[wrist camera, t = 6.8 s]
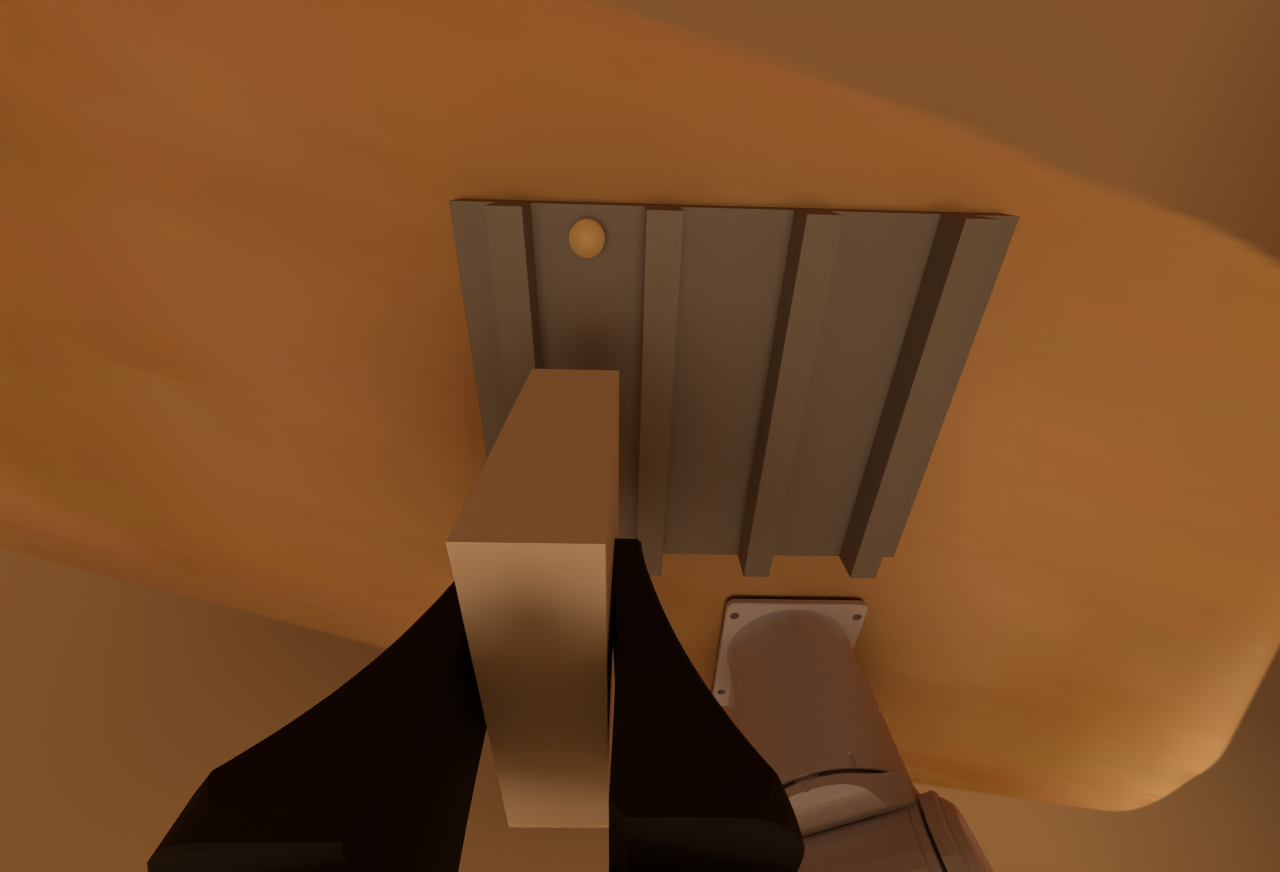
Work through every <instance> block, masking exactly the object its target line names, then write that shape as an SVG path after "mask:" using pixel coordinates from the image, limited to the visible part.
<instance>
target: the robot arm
mask: <svg viewBox="0 0 1280 872" xmlns="http://www.w3.org/2000/svg"><path fill="white" fill-rule="evenodd" d="M867 611H868V608H867V606H866V604H865V602H863V601H860V600H795V599H731V600H729V601H728V602H727V603H726V607H725V613H724V620H723V626H722V632H721V639H720V645H719V651H718V658H717V664H716V670H715V677H714V683H713V689H712V693H711V691H710V690H709V689H708V687H707V686H706V684H705V683H704V681H703V680H702V678H701V677H700V675H699V674H698V672H697V671H696V669H695V667H694V666H693V664H692V663H691V661H690V659H689V658H688V656H687V654H686V653H685V651H684V649H683V648H682V646H681V644H680V642H679V640H678V638H677V637H676V635H675V633H674V631H673V629H672V627H671V625H670V623H669V621H668V619H667V617H666V615H665V613H664V610H663V608H662V606H661V604H660V601H659V599H658V597H657V594H656V592H655V589H654V587H653V584H652V582H651V579H650V576H649V573H648V570H647V567H646V563H645V560H644V556H643V551H642V545H641V542H640V541H639V540H638V539H623V538H615V543H614V556H613V656H614V676H615V694H614V713H613V732H612V750H611V768H610V785H609V872H994V871H993V870H992V868H991V866H990V864H989V862H988V860H987V858H986V857H985V855H984V853H983V851H982V849H981V847H980V846H979V844H978V842H977V840H976V838H975V837H974V835H973V833H972V831H971V830H970V828H969V826H968V825H967V823H966V821H965V819H964V818H963V816H962V815H961V813H960V811H959V810H958V809H957V807H956V806H955V805H954V804H953V803H951V802H949V801H947V800H946V799H944V798H940V796H939V795H938V794H937V793H936V792H934V791H928V792H926V793H923V794H920V793H919V792H918V791H917V789H916V788H915V787H914V785H913V783H912V781H911V778H910V776H909V774H908V772H907V769H906V767H905V765H904V763H903V760H902V758H901V756H900V754H899V751H898V749H897V747H896V745H895V742H894V740H893V738H892V736H891V733H890V731H889V729H888V727H887V724H886V722H885V720H884V718H883V715H882V713H881V711H880V709H879V706H878V704H877V702H876V700H875V698H874V695H873V693H872V691H871V689H870V686H869V684H868V682H867V680H866V677H865V675H864V673H863V671H862V668H861V666H860V664H859V662H858V659H857V657H856V655H855V653H854V647H855V644H856V641H857V638H858V636H859V633H860V630H861V627H862V625H863V622H864V619H865V616H866V614H867ZM732 613H734V614H732ZM721 706H728V710H729V716H730V718H729V716H728V715H727V714H726V712H725V711H724V709H723V708H722V707H721ZM486 729H487V725H486V721H485V716H484V712H483V707H482V703H481V698H480V694H479V689H478V685H477V680H476V676H475V671H474V667H473V662H472V658H471V653H470V649H469V644H468V640H467V635H466V631H465V626H464V622H463V617H462V613H461V608H460V604H459V599H458V595H457V590H456V586H455V581H454V582H453V583H452V584H451V585H450V586H449V587H448V589H447V590H446V591H445V592H444V593H443V594H442V595H441V596H440V598H439V599H438V600H437V601H436V602H435V603H434V604H433V605H432V606H431V607H430V608H429V609H428V610H427V611H426V612H425V613H424V614H423V615H422V616H421V617H420V618H419V619H418V620H417V621H416V622H415V623H414V624H413V625H412V626H411V627H410V628H409V629H408V630H407V631H406V632H405V633H404V634H403V635H402V636H401V637H400V638H399V639H397V640H396V641H395V642H394V643H393V644H392V645H391V646H390V647H389V648H387V649H386V650H385V651H384V652H383V653H382V654H381V655H380V656H378V657H377V658H376V659H375V660H374V661H373V662H371V663H370V664H369V665H368V666H366V667H365V668H364V669H363V670H361V671H360V672H359V673H358V674H357V675H355V676H354V677H353V678H351V679H350V680H349V681H348V682H346V683H345V684H344V685H342V686H341V687H340V688H339V689H337V690H336V691H335V692H333V693H332V694H331V695H330V696H328V697H327V698H325V699H324V700H323V701H321V702H319V703H318V704H317V705H315V706H314V707H313V708H311V709H309V710H308V711H307V712H305V713H304V714H303V715H301V716H299V717H298V718H296V719H295V720H294V721H292V722H291V723H289V724H288V725H286V726H285V727H283V728H281V729H280V730H278V731H277V732H275V733H274V734H272V735H271V736H269V737H268V738H266V739H264V740H262V741H261V742H259V743H258V744H256V745H254V746H253V747H251V748H249V749H248V750H246V751H245V752H243V753H241V754H240V755H238V756H236V757H235V758H233V759H232V760H230V761H228V762H226V763H225V764H223V765H222V766H220V767H218V768H216V769H214V770H213V771H212V772H211V773H210V774H209V776H208V777H207V778H206V779H205V781H204V782H203V783H202V785H201V786H200V787H199V788H198V790H197V791H196V792H195V794H194V795H193V796H192V798H191V799H190V801H189V802H188V804H187V805H186V807H185V808H184V810H183V811H182V813H181V814H180V816H179V817H178V818H177V820H176V821H175V823H174V824H173V826H172V827H171V829H170V830H169V831H168V833H167V834H166V836H165V837H164V839H163V840H162V842H161V843H160V845H159V846H158V847H157V849H156V850H155V852H154V853H153V855H152V856H151V858H150V859H149V861H148V862H147V865H148V872H458V869H459V864H460V858H461V853H462V847H463V842H464V836H465V831H466V825H467V820H468V815H469V810H470V805H471V800H472V795H473V790H474V784H475V779H476V775H477V770H478V766H479V761H480V756H481V751H482V746H483V742H484V737H485V733H486Z"/></svg>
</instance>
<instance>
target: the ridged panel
mask: <svg viewBox="0 0 1280 872" xmlns="http://www.w3.org/2000/svg"><path fill="white" fill-rule="evenodd" d="M449 204H450V210H451V217H452V224H453V230H454V237H455V244H456V250H457V257H458V264H459V270H460V277H461V284H462V291H463V297H464V304H465V311H466V317H467V324H468V331H469V337H470V344H471V351H472V357H473V364H474V371H475V377H476V384H477V391H478V397H479V404H480V411H481V417H482V424H483V431H484V437H485V444H486V451H487V457H488V456H489V454H490V452H491V450H492V448H493V446H494V444H495V442H496V440H497V438H498V436H499V434H500V432H501V430H502V428H503V426H504V424H505V422H506V420H507V418H508V416H509V414H510V412H511V410H512V408H513V406H514V404H515V402H516V400H517V398H518V396H519V394H520V392H521V390H522V388H523V386H524V384H525V382H526V380H527V378H528V376H529V374H530V372H531V370H532V369H571V370H618V371H619V512H618V538H623V539H638V540H639V541H640V542H641V545H642V551H643V556H644V560H645V563H646V567H647V570H648V573H649V575H661V566H662V553H663V554H734V555H738V557H739V560H740V564H741V568H742V572H743V576H758V577H768V576H769V571H770V566H771V562H772V557H773V555H805V556H839V557H840V559H841V561H842V562H843V564H844V566H845V568H846V570H847V572H848V574H849V576H850V578H875V576H876V573H877V571H878V568H879V565H880V562H881V559H882V557H893V556H894V554H895V551H896V548H897V545H898V543H899V540H900V537H901V535H902V532H903V529H904V527H905V524H906V521H907V518H908V516H909V513H910V510H911V508H912V505H913V502H914V500H915V497H916V494H917V492H918V489H919V486H920V483H921V481H922V478H923V475H924V473H925V470H926V467H927V465H928V462H929V459H930V456H931V454H932V451H933V448H934V446H935V443H936V440H937V438H938V435H939V432H940V430H941V427H942V424H943V421H944V419H945V416H946V413H947V411H948V408H949V405H950V403H951V400H952V397H953V394H954V392H955V389H956V386H957V384H958V381H959V378H960V376H961V373H962V370H963V368H964V365H965V362H966V359H967V357H968V354H969V351H970V349H971V346H972V343H973V341H974V338H975V335H976V332H977V330H978V327H979V324H980V322H981V319H982V316H983V314H984V311H985V308H986V306H987V303H988V300H989V297H990V295H991V292H992V289H993V287H994V284H995V281H996V279H997V276H998V273H999V270H1000V268H1001V265H1002V262H1003V260H1004V257H1005V254H1006V252H1007V249H1008V246H1009V244H1010V241H1011V238H1012V235H1013V233H1014V230H1015V227H1016V225H1017V222H1018V219H1019V217H1020V216H1014V215H1007V214H994V213H958V212H921V211H885V210H848V209H811V208H775V207H738V206H702V205H665V204H628V203H592V202H555V201H519V200H482V199H455V200H450V201H449Z"/></svg>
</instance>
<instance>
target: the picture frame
mask: <svg viewBox="0 0 1280 872" xmlns="http://www.w3.org/2000/svg"><path fill="white" fill-rule="evenodd" d="M618 512H619V371H618V370H571V369H532V370H531V372H530V374H529V376H528V378H527V380H526V382H525V384H524V386H523V388H522V390H521V392H520V394H519V396H518V398H517V400H516V402H515V404H514V406H513V408H512V410H511V412H510V414H509V416H508V418H507V420H506V422H505V424H504V426H503V428H502V430H501V432H500V434H499V436H498V438H497V440H496V442H495V444H494V446H493V448H492V450H491V452H490V454H489V456H488V458H487V460H486V462H485V464H484V466H483V468H482V470H481V472H480V474H479V476H478V478H477V480H476V482H475V484H474V486H473V488H472V490H471V492H470V494H469V496H468V498H467V500H466V502H465V504H464V506H463V508H462V510H461V512H460V514H459V516H458V518H457V520H456V522H455V524H454V526H453V528H452V530H451V532H450V534H449V536H448V538H447V540H446V545H447V550H448V554H449V559H450V563H451V568H452V572H453V577H454V581H455V586H456V590H457V595H458V599H459V604H460V608H461V613H462V617H463V622H464V626H465V631H466V635H467V640H468V644H469V649H470V653H471V658H472V662H473V667H474V671H475V676H476V680H477V685H478V689H479V694H480V698H481V703H482V707H483V712H484V716H485V721H486V725H487V730H488V734H489V739H490V743H491V748H492V752H493V757H494V761H495V766H496V770H497V775H498V779H499V784H500V789H501V793H502V797H503V802H504V807H505V811H506V815H507V820H508V824H509V827H587V828H588V827H593V828H598V827H599V828H609V785H610V768H611V750H612V732H613V712H614V687H615V676H614V656H613V556H614V543H615V538H618Z"/></svg>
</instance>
